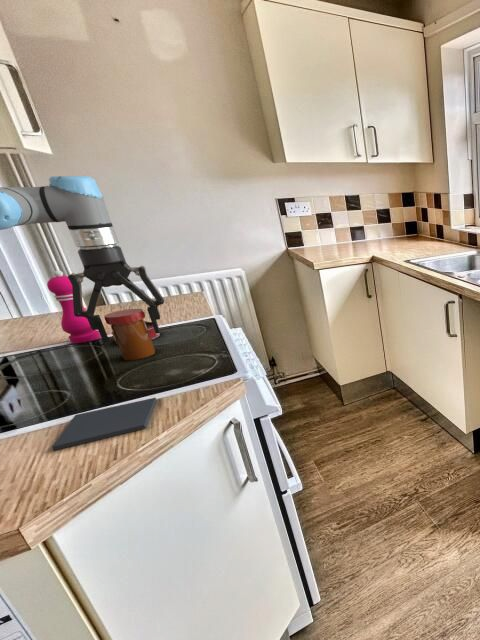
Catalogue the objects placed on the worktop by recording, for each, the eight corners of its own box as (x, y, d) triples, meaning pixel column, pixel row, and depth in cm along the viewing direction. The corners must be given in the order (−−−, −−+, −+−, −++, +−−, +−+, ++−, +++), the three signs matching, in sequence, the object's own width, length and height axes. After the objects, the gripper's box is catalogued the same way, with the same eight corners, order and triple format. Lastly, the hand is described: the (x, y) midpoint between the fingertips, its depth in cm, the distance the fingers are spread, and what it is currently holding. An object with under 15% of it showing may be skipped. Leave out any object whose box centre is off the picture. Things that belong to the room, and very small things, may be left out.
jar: (120, 362, 104) (104, 321, 100) (126, 354, 109) (111, 315, 105) (153, 356, 107) (138, 316, 103) (157, 348, 112) (143, 310, 108)
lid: (127, 315, 109) (124, 308, 108) (153, 315, 108) (150, 308, 107) (98, 324, 102) (95, 317, 101) (125, 325, 101) (122, 317, 100)
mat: (53, 450, 69) (51, 446, 69) (76, 418, 79) (75, 414, 79) (145, 428, 75) (144, 424, 75) (157, 400, 85) (155, 397, 84)
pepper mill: (106, 338, 122) (78, 269, 114) (72, 346, 116) (41, 274, 109) (98, 333, 125) (71, 267, 118) (65, 341, 120) (34, 271, 113)
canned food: (123, 354, 121) (108, 323, 121) (165, 342, 127) (151, 311, 126) (114, 347, 112) (97, 313, 111) (160, 334, 118) (144, 301, 117)
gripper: (26, 254, 89) (69, 351, 97) (157, 243, 101) (186, 330, 110) (35, 250, 95) (75, 343, 103) (158, 240, 107) (185, 323, 115)
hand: (132, 336), depth 106 cm, fingers open, 9 cm apart
